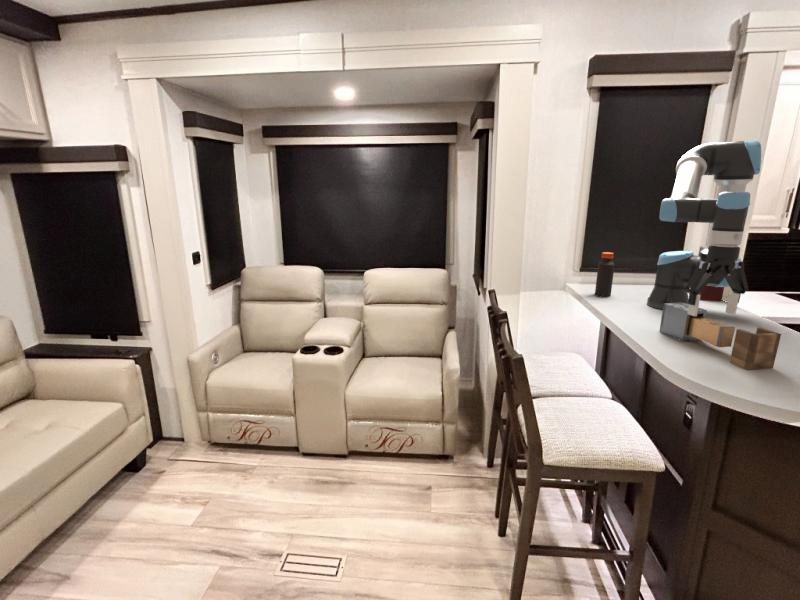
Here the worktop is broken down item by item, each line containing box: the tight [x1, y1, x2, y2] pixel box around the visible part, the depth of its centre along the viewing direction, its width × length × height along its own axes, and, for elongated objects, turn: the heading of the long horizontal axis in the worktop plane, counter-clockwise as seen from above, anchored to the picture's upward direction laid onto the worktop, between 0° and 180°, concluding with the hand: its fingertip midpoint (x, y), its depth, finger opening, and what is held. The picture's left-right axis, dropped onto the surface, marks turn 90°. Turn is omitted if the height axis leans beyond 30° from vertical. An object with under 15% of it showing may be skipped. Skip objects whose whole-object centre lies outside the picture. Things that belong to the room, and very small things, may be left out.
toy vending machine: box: [695, 245, 725, 302], centre depth 185 cm, size 9×11×28 cm
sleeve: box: [659, 302, 708, 342], centre depth 139 cm, size 7×10×10 cm
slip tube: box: [687, 315, 736, 348], centre depth 133 cm, size 4×20×6 cm, turn 9°
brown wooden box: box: [729, 327, 782, 371], centre depth 115 cm, size 8×6×10 cm
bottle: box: [594, 251, 615, 298], centre depth 192 cm, size 7×7×20 cm
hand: (711, 314), depth 128 cm, fingers open, 13 cm apart
